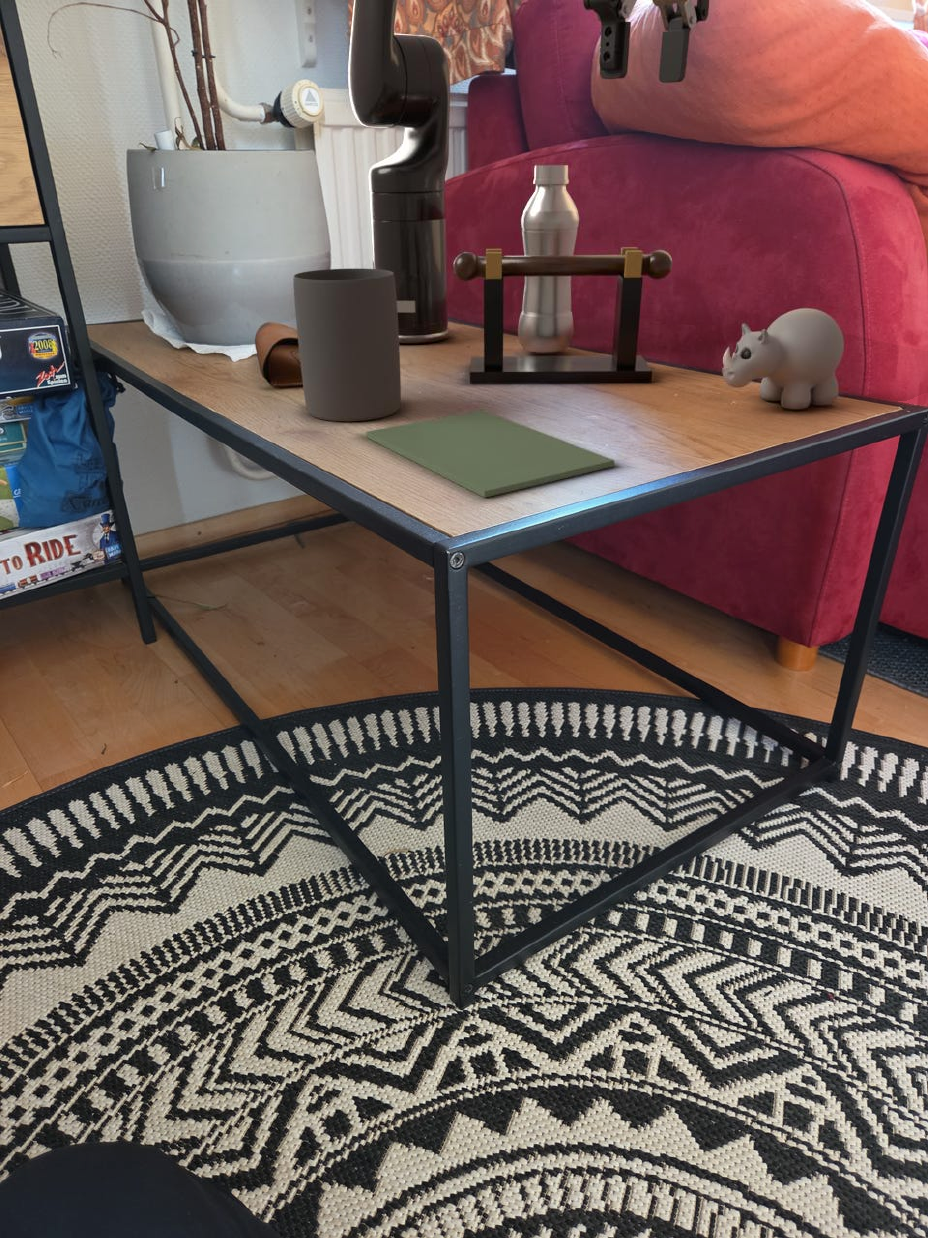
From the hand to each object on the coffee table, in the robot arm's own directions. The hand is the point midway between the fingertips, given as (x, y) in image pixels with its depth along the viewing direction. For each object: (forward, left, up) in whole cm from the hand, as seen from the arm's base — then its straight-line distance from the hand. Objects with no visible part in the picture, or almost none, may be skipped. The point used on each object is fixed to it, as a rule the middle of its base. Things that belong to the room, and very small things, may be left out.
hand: (643, 80), depth 71 cm
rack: (-11, +1, -26) cm, 29 cm away
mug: (-13, -23, -27) cm, 37 cm away
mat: (+7, -21, -26) cm, 34 cm away
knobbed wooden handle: (-11, +1, -15) cm, 19 cm away
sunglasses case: (-31, -21, -27) cm, 46 cm away
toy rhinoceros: (+11, +9, -27) cm, 30 cm away
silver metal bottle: (-21, +7, -27) cm, 35 cm away
